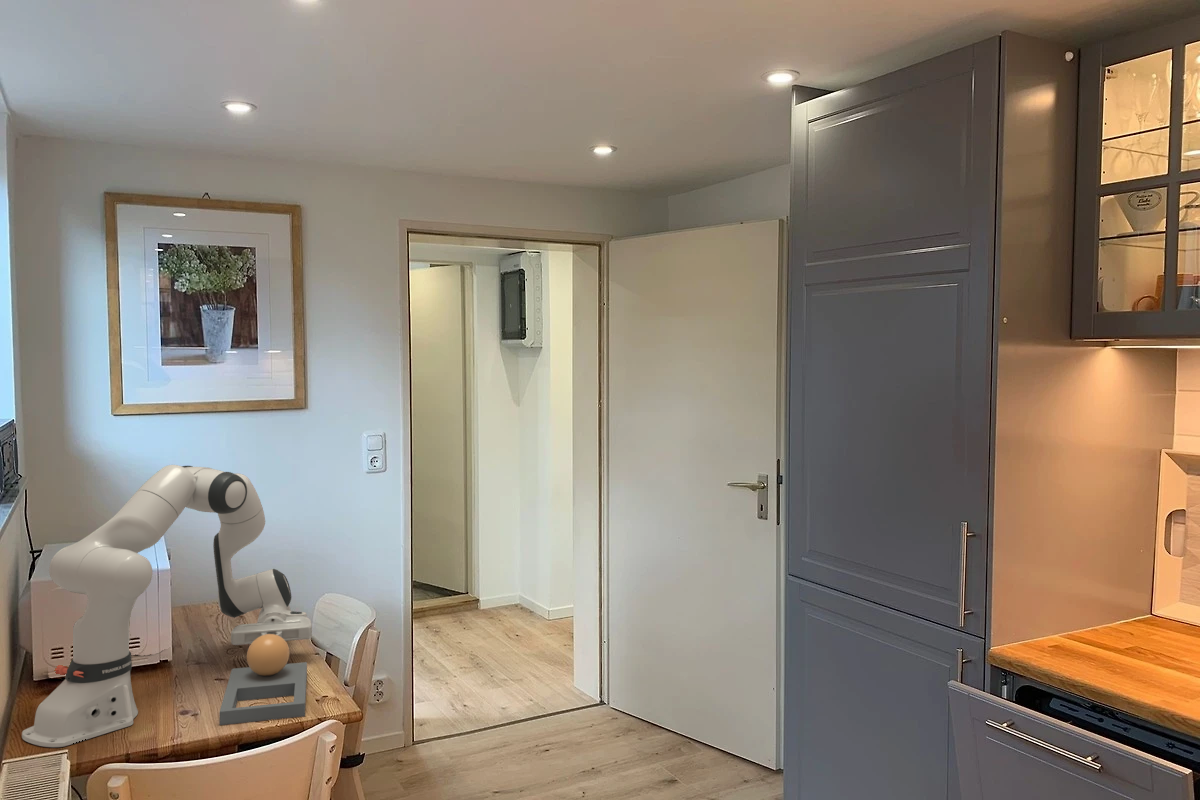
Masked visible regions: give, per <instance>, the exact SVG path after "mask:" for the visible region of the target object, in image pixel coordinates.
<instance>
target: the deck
mask: <svg viewBox="0 0 1200 800" xmlns="http://www.w3.org/2000/svg"><path fill="white" fill-rule="evenodd" d="M307 670H308V662H307V661H305V662H296V663H295V662H293V663H292V662H291V663H287V664H286V665H285V667H284V668H283V669H282V670H281V671H279V672H278V673H276V674H274V675H269V676H262V675H259V674H257V673H255V672H254V671H252V670H251V668H250V667H249V666H247V667H237V668H231V671H230V674H229V678H228V681H227V685H226V688H225V692H224V695H223V699H222V703H221V704H220V705H221V706H220V709H219V713H218V714H219V726H225V725H233V724H244V723H252V722H263V721H271V719H273V720H280V719H281V720H282V718H283V719H292V718H297V717H298V718H300V717H306V699H307V680H308V677H307V676H308V671H307ZM291 696H292V697H293V701H290V702H282V703H281V702H280V703H272V704H262V705H261V704H259V705H251V706H242V707H241V706H240V707H237V705H238V701H239V702H240V701H250V700H261V699H272V698H279V697H280V698H281V697H291Z"/></svg>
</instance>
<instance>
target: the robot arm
mask: <svg viewBox="0 0 1200 800" xmlns="http://www.w3.org/2000/svg"><path fill="white" fill-rule="evenodd" d="M185 508H187V509H190V510H191V509H192V510H194V511H198V512H202V513H212V514H213V513H215V514H217V516H218V518H219V521H220V528H219V531H218V532H217V533H216V534H215V535H214V537H213V544H212V545H213V555H214V556H213V558H214V567H215V573H216V582H217V603H218V608H219V610H220V612H221V613H222V614H223V615H225V616H227V617H230V618H234V619H235V618H238V617H240V616H243V615H245V614H247V613H250V612H253V611H256V610H259V609H260V611H259V613H258V617H257V622H254V623H245V624H244V623H242V624H238V625H236V626H235V627H234V628H233V629H232V630H231V633H230V643H231V645H234V646H241V645H251V643H252V642H253V641H254V640H255V639H257V638H258V637H260V636H262V635H266V634H275V635H278V636H280V637H282V638H283V639H284V640H285V641H286V642H287V641H288V642H290V641H300V640H310V639H312V637H313V629H312V628H313V624H312V620H311V619H310V618H309V617H308V615H307V612H304V611H293V610H291V606H290V604H291V602H292V592H291V587H290V583H289V581H288V579H287V576H286V575H285V574H284V573H283V572H282V571H280V570H279V569H275V568H272V569H268V570H265V571H260V572H258V573H255V574H251V575H248V576H245V577H241V578H233V570H232V569H233V568H232V560H231V559H232V558H233V556H235V555H236V554H237V553H238V552H240V551H241V550H242V549H244V548H245V547H247V546H248V545H250V544H252V543H253V542H254V541H255V540H257V538H259V536H260V535H261V534H262V532H263V531H264V528H265V525H266V517H265V511H264V508H263V504H262V502H261V499H260V496H259V494H258V492H257V491H256V488H255V486H254V485H253V483H252V481H251V480H250V478H249V477H248V476H246V475H245V474H241V473H238V472H237V473H233V472H231V471H223V470H219V469H215V468H212V467H206V466H194V465H182V466H181V465H178V464H169V465H166V466H164V467H161V469H159V470H158V471H157V472H156V473H154V474H153V475H152V476H150V477H149V479H147V480H146V481H145V482H144V483H143V484H142V485H141V486H140V487H139V488H138V490H136V491H135V493H134V494H133V495H131V497H130V499H128V501H126V502H125V504H124V505H123V506H122V507H121V508H120V509H119V510H118V511H117V512H116V514H114V516H112V517H111V518H109V520H108V521H106V522H105V523H103V524H102V525H101V526H99V527H98V528H97V529H95V530H94V531H93V532H91V533H90V534H88V535H87V536H85V537H83V538H82V539H81V540H79V541H76V542H75V543H72V544H70V545H67V546H65V547H63V548H61V549H60V550H58V551H57V552H56V553H55V554H54V555H53V557H52V558H51V560H50V563H49V569H48V571H49V577H50V579H51V581H52V582H53V583H54V584H55V585H57V586H59V587H60V588H62V589H63V590H66V591H68V592H70V593H73V594H79V595H86V596H87V602H86V603H87V604H86V606H85V610H84V613H83V615H82V616H81V617H79V618H78V619H76V621H75V623H74V626H73V659H72V660H71V662H70V665H69V667H67V666H63V665H58V666H56V667H57V668H55V670H54V671H56V672H55V673H56V674H60V675H65V674H66V676H65V679H63V681H62V682H61V683H60V684H59V685H58V686H57V687H56V688H55V689H54V690H53V691H52V692H51V693H50V694H49V695H48V696H47V697H45V699H44V700H42V702H40V704H39V705H38V707H37V708H36V712H35V714H34V715H35V716H34V724H33V725H32V726H30V727H27V728H25V729H24V730H22V732H21V738H22V740H23V741H25V742H27V743H29V744H32V745H34V746H38V747H44V748H62V747H63V748H64V747H67V746H70V745H73V743H74V744H77V743H79V741H80V742H82V740H83V741H86V740H90V739H92V738H95V737H99V736H103V735H105V734H108V733H111V732H114V731H119V730H121V729H124V728H127V727H130V726H132V725H133V724H134V719H135V718H136V717H137V715H138V714H139V709H138V708H137V705H136V702H135V698H134V693H133V688H132V687H133V686H132V682H131V681H132V680H131V671H132V668H133V665H132V664H133V662H132V651H131V650H130V651H129V643H130V617H131V613H132V609H133V608H135V607H134V606H135V604H136V602H137V600H138V598H139V597H140V596H141V595H143V593H144V592H145V591H146V590H147V589H148V587H149V585H150V584H151V582H152V579H153V568H152V567H153V566H152V564H151V562H150V560H149V559H148V558H146V557H145V556H144V555H142V554H140V552H142V551H145V550H146V549H150V548H151V547H153V546H155V545H156V544H157V543H159V541H160V540H161V538H162V537H164V535H165V534H166V533H167V532H168V530H169V529H170V528H171V526H172V525H173V524H174V523H175V521H176V520H177V519H178V518H179V516H180V515H181V513H182V512H183V511H184V509H185ZM85 739H86V740H85ZM76 742H77V743H76Z"/></svg>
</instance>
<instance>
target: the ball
mask: <svg viewBox="0 0 1200 800" xmlns="http://www.w3.org/2000/svg"><path fill="white" fill-rule="evenodd" d="M289 647H290V646H289V644H288V642H287V641H285V640H284V639H283V638H282V637H280V636H278V635H275V634H266V635H262V636H260V637H258V638H257V639H255V640H254V641H253V642H252V643H251V644H249V647H248V648H247V652H246V663H247V664H248V667H250V668H251V670H252V671H254V672H255V673H257V674H259V675H262V676H269V675H274V674H276V673H278V672H279V671H281V670H282V669H283V668H284V667H285V665H286V664H288V661H289V660H290V653H291V652H290V648H289Z"/></svg>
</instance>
